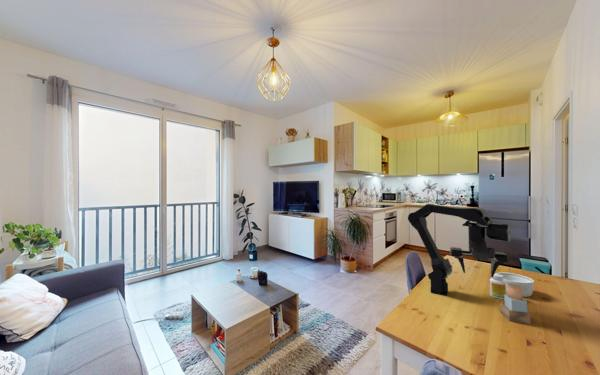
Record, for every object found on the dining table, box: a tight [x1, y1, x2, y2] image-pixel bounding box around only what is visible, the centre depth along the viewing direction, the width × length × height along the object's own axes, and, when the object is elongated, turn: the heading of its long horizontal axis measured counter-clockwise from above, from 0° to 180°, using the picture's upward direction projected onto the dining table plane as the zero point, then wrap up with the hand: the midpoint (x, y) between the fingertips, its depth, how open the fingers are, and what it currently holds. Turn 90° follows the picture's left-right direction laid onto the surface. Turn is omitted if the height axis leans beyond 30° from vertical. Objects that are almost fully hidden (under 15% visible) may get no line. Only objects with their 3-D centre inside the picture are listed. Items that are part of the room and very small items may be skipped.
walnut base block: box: [500, 302, 531, 325], centre depth 83 cm, size 6×6×4 cm
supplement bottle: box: [489, 273, 507, 300], centre depth 100 cm, size 5×5×10 cm
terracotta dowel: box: [506, 284, 523, 300], centre depth 83 cm, size 4×4×4 cm
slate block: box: [503, 294, 528, 313], centre depth 82 cm, size 4×4×4 cm
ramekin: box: [495, 271, 535, 298], centre depth 105 cm, size 13×13×7 cm
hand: (477, 274), depth 93 cm, fingers open, 9 cm apart
